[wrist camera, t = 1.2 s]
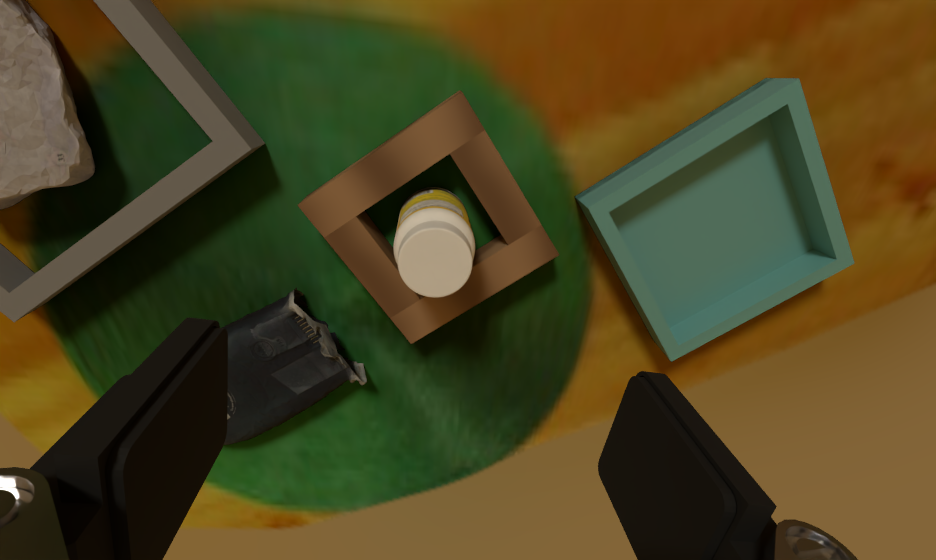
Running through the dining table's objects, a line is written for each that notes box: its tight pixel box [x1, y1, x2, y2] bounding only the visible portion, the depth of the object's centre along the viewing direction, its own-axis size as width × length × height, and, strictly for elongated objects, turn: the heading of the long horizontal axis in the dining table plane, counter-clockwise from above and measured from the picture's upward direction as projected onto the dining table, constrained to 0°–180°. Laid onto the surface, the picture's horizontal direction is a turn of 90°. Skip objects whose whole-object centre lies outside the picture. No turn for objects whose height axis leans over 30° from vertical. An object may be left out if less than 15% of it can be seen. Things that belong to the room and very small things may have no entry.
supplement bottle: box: [393, 187, 475, 298], centre depth 29 cm, size 5×5×8 cm
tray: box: [575, 78, 854, 362], centre depth 33 cm, size 14×14×3 cm
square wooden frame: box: [298, 91, 559, 344], centre depth 31 cm, size 12×12×2 cm
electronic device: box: [222, 288, 367, 445], centre depth 35 cm, size 9×6×15 cm
